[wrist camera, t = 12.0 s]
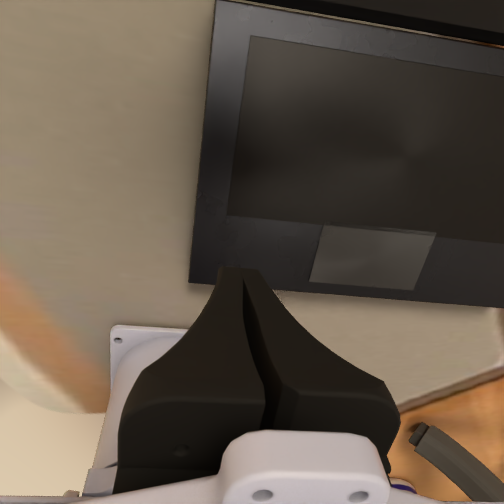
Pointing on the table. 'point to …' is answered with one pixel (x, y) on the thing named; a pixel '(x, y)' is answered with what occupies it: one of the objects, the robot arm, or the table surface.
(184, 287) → the table surface
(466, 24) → the screen
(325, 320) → the table surface
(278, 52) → the laptop
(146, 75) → the table surface
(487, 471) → the hand grip strengthener
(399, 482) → the energy drink
